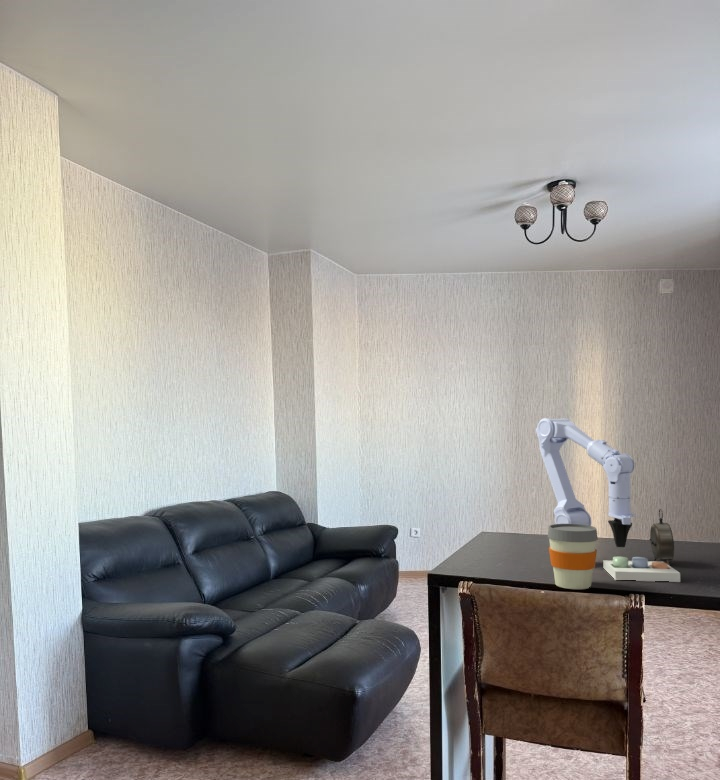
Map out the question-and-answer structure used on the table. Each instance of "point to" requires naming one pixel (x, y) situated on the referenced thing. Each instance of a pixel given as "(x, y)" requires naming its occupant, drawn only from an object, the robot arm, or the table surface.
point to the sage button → (620, 562)
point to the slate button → (639, 562)
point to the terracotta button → (659, 565)
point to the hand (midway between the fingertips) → (620, 546)
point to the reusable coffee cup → (572, 554)
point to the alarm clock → (662, 541)
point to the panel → (641, 572)
